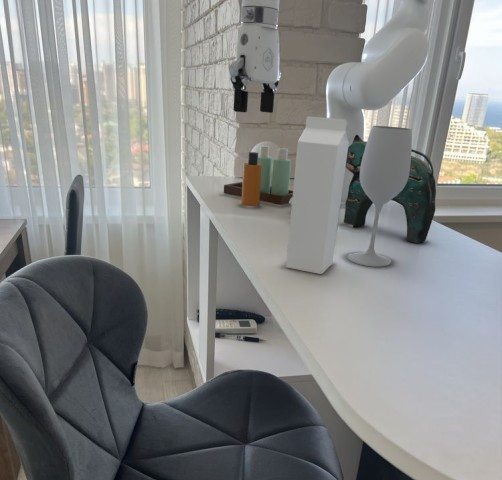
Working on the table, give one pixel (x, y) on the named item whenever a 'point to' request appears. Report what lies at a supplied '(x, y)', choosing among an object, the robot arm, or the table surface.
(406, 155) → the wineglass
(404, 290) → the table surface
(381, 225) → the table surface
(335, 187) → the milk
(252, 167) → the amber bottle
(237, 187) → the tray
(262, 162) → the bottle
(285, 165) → the bottle
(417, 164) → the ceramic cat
